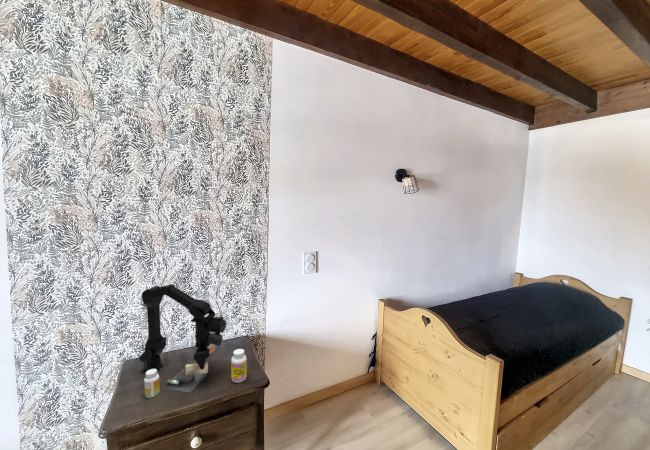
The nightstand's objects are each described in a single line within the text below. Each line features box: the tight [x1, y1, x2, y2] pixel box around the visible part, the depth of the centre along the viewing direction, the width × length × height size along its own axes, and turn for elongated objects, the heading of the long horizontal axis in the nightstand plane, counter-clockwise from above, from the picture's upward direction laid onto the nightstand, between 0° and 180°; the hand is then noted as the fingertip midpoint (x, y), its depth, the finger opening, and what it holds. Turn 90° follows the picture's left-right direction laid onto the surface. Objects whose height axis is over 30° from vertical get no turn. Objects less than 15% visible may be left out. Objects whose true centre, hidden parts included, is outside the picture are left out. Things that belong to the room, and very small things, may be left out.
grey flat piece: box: [163, 368, 207, 393], centre depth 125 cm, size 12×17×4 cm
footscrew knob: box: [176, 361, 209, 384], centre depth 123 cm, size 12×7×6 cm, turn 102°
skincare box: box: [207, 332, 216, 356], centre depth 147 cm, size 6×4×12 cm
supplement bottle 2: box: [230, 348, 248, 384], centre depth 125 cm, size 7×7×13 cm
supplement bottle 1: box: [143, 369, 161, 399], centre depth 115 cm, size 5×5×10 cm
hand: (203, 363), depth 128 cm, fingers open, 9 cm apart
